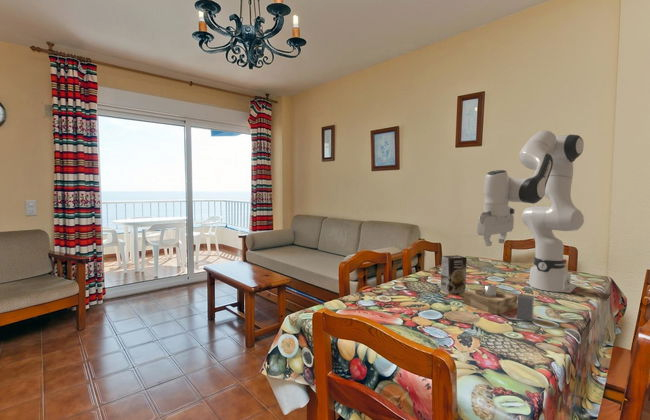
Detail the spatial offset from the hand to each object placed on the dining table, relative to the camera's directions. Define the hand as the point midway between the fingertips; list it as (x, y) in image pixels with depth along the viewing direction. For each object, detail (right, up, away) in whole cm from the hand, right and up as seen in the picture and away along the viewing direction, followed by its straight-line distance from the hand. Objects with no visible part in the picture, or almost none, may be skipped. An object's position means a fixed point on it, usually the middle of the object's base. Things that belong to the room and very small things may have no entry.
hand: (495, 244), depth 132 cm
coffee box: (-11, -24, +17) cm, 31 cm away
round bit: (-3, -25, -2) cm, 25 cm away
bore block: (-3, -24, -2) cm, 25 cm away
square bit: (+3, -25, -14) cm, 29 cm away
